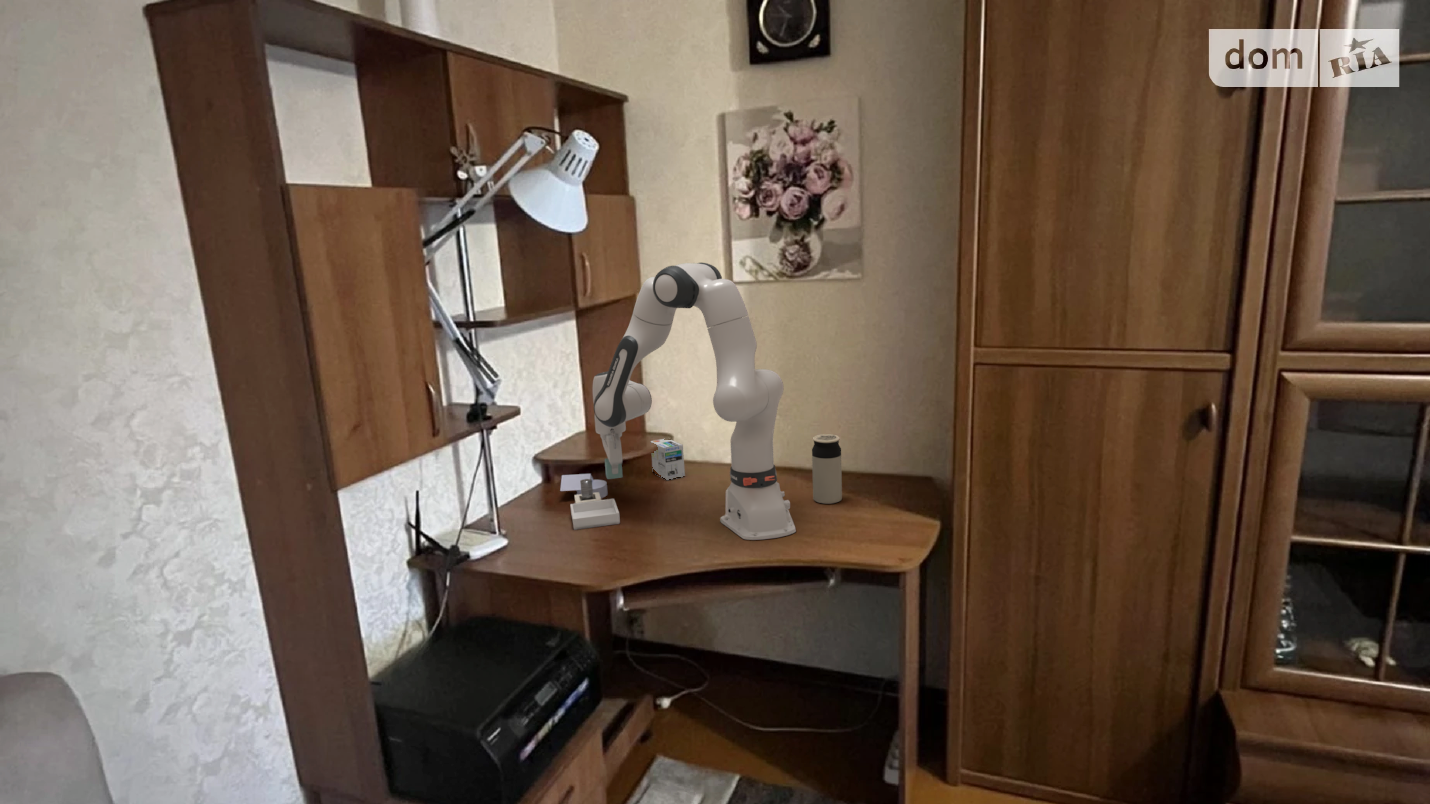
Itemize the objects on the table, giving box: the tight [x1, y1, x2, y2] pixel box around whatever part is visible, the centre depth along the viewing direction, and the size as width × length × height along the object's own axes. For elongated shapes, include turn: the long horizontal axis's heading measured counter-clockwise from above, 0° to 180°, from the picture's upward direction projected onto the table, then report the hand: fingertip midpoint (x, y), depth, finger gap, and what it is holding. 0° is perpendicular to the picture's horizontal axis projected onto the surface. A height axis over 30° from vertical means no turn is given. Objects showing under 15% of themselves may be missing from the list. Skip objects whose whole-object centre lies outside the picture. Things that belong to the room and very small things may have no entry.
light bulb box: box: [650, 438, 686, 481], centre depth 246 cm, size 11×7×11 cm, turn 30°
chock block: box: [604, 457, 624, 480], centre depth 230 cm, size 4×4×5 cm
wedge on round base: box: [559, 473, 609, 499], centre depth 231 cm, size 9×7×13 cm
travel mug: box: [811, 433, 843, 505], centre depth 215 cm, size 8×8×18 cm
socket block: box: [574, 492, 602, 504], centre depth 220 cm, size 7×7×3 cm
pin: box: [580, 479, 593, 501], centre depth 220 cm, size 3×3×8 cm
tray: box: [569, 498, 621, 531], centre depth 211 cm, size 12×12×3 cm
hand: (613, 470), depth 230 cm, fingers closed on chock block, 4 cm apart
